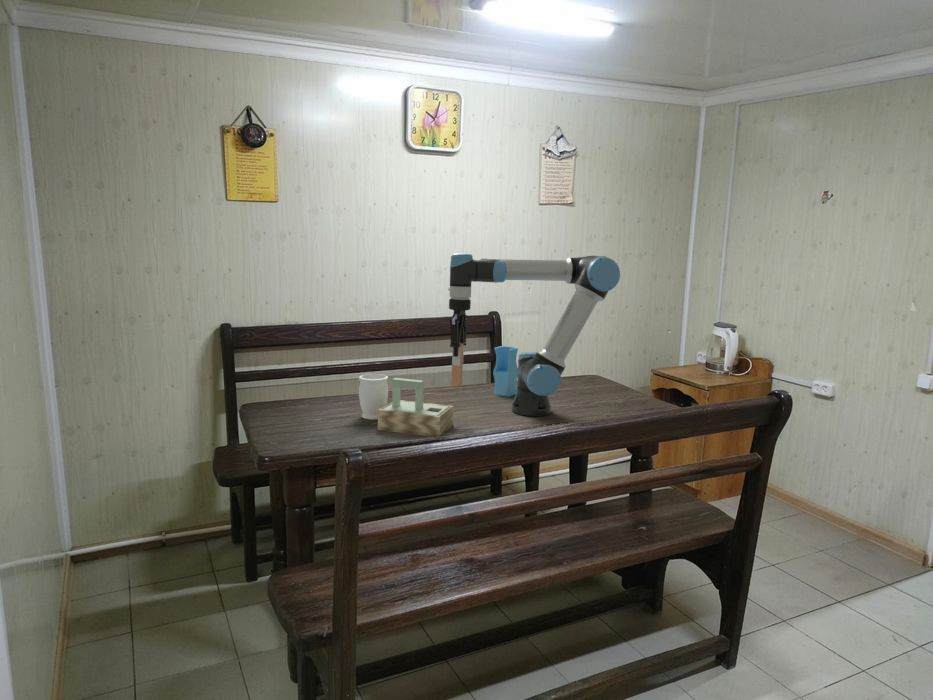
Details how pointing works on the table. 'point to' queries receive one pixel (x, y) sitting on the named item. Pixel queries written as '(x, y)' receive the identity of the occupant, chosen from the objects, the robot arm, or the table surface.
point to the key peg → (458, 370)
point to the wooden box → (415, 421)
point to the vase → (505, 371)
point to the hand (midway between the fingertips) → (457, 364)
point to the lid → (418, 405)
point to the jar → (372, 394)
